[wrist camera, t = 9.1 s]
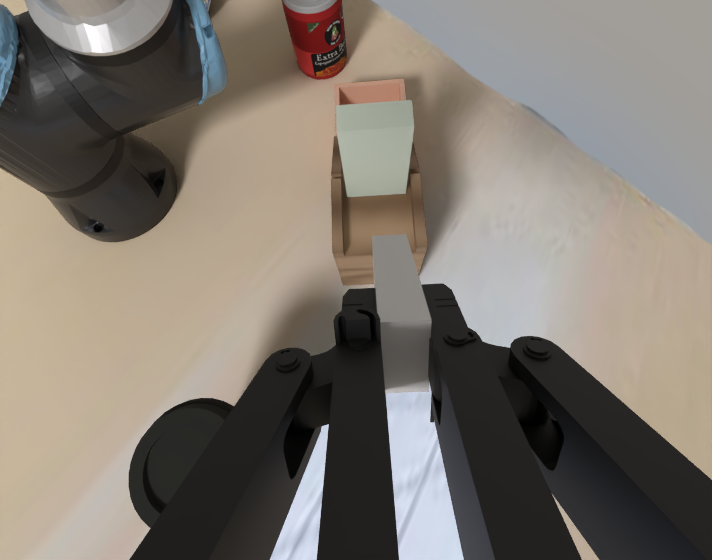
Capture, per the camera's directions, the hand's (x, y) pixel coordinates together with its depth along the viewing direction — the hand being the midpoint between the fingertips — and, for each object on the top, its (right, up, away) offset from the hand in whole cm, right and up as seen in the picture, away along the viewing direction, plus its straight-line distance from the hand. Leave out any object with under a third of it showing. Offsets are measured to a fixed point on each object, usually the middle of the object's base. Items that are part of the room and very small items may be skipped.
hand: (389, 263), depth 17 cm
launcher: (+1, +7, +32) cm, 32 cm away
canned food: (-7, +33, +40) cm, 53 cm away
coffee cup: (-13, -19, +25) cm, 34 cm away
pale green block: (+1, +9, +22) cm, 24 cm away
